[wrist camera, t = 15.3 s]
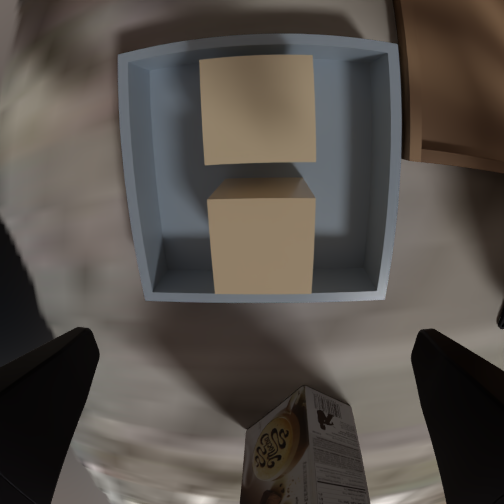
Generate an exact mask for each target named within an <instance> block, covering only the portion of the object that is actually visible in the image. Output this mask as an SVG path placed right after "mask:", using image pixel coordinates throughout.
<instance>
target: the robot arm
mask: <svg viewBox="0 0 504 504" xmlns="http://www.w3.org/2000/svg"><path fill="white" fill-rule="evenodd" d="M498 327H499V328H500V329H504V309H503V312H502V315H501V317H500V320H499V323H498ZM99 356H100V353H99V349H98V346H97V343H96V341H95V338H94V335H93V333H92V331H91V330H90V329H89V328H84V327H77V328H75V329H73V330H71V331H69V332H67V333H65V334H63V335H61V336H59V337H57V338H55V339H53V340H51V341H50V342H47V343H46V344H44V345H42V346H40V347H38V348H36V349H34V350H32V351H30V352H28V353H26V354H25V355H23V356H21V357H19V358H17V359H15V360H13V361H11V362H9V363H7V364H6V365H4V366H2V367H0V504H51V501H52V498H53V494H54V491H55V488H56V485H57V481H58V478H59V475H60V472H61V469H62V466H63V463H64V460H65V457H66V454H67V451H68V448H69V445H70V443H71V440H72V437H73V434H74V432H75V429H76V426H77V424H78V421H79V418H80V416H81V413H82V411H83V408H84V406H85V403H86V400H87V397H88V394H89V390H90V387H91V384H92V380H93V377H94V374H95V370H96V367H97V364H98V361H99ZM411 362H412V367H413V371H414V375H415V380H416V384H417V389H418V394H419V399H420V403H421V407H422V411H423V414H424V418H425V421H426V424H427V428H428V431H429V434H430V438H431V441H432V445H433V449H434V452H435V456H436V460H437V464H438V468H439V472H440V476H441V480H442V485H443V489H444V494H445V498H446V503H447V504H504V371H503V370H501V369H500V368H498V367H496V366H495V365H493V364H491V363H490V362H488V361H487V360H485V359H483V358H482V357H480V356H478V355H477V354H475V353H473V352H472V351H470V350H468V349H467V348H465V347H464V346H462V345H460V344H459V343H457V342H455V341H454V340H452V339H450V338H449V337H447V336H445V335H443V334H442V333H440V332H438V331H437V330H435V329H423V330H420V331H419V332H418V335H417V338H416V341H415V344H414V347H413V350H412V354H411Z"/></svg>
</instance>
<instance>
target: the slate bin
mask: <svg viewBox="0 0 504 504" xmlns="http://www.w3.org/2000/svg"><path fill="white" fill-rule="evenodd" d="M251 55H313V70H314V91H315V120H316V162H273V163H240V164H219V165H205V162H204V147H203V131H202V112H201V91H200V66H199V60H203V59H212V58H222V57H235V56H251ZM118 99H119V119H120V135H121V147H122V158H123V168H124V177H125V186H126V194H127V201H128V209H129V216H130V222H131V229H132V235H133V241H134V246H135V252H136V257H137V263H138V268H139V273H140V278H141V283H142V287H143V292H144V297H145V301H168V302H205V303H303V302H341V301H366V300H385V296H386V290H387V284H388V279H389V273H390V266H391V260H392V253H393V245H394V237H395V229H396V220H397V210H398V198H399V185H400V168H401V135H402V114H401V82H400V66H399V53H398V44H394V43H388V42H382V41H376V40H369V39H361V38H353V37H343V36H332V35H317V34H247V35H232V36H220V37H211V38H202V39H194V40H187V41H181V42H175V43H169V44H163V45H158V46H153V47H148V48H144V49H139V50H135V51H131V52H127V53H123V54H119V55H118ZM274 177H303V179H304V180H305V182H306V183H307V185H308V187H309V188H310V190H311V191H312V193H313V195H314V196H315V198H316V208H315V237H314V259H313V277H312V292H311V294H215V289H214V278H213V268H212V256H211V245H210V233H209V220H208V207H207V199H208V198H209V197H210V196H211V194H212V193H213V192H214V191H215V190H216V189H217V188H218V186H219V185H220V184H221V183H222V182H223V181H224V180H225V179H228V178H274Z"/></svg>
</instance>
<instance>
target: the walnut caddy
mask: <svg viewBox="0 0 504 504" xmlns="http://www.w3.org/2000/svg"><path fill="white" fill-rule="evenodd" d="M393 5H394V12H395V19H396V26H397V35H398V44H399V55H400V67H401V84H402V159H405V160H408V161H416V162H426V163H435V164H444V165H452V166H459V167H467V168H473V169H480V170H486V171H492V172H498V173H504V0H393Z"/></svg>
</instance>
